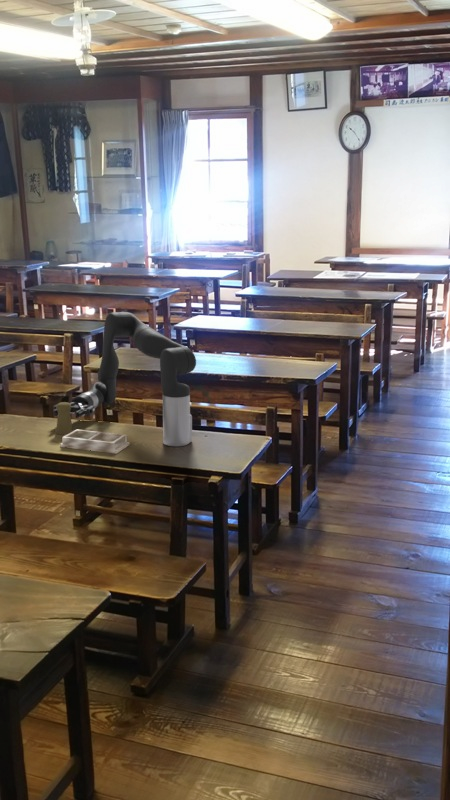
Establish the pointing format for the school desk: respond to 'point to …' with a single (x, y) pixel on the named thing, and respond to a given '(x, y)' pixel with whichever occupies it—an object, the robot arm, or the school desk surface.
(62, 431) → the cork
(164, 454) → the school desk surface
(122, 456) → the school desk surface
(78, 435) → the white divided tray
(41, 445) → the school desk surface
